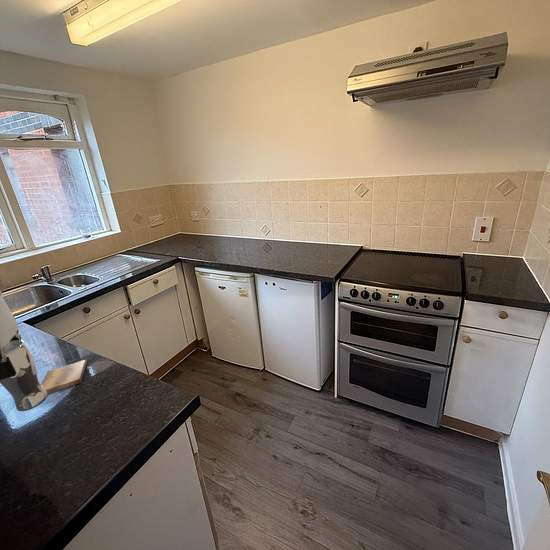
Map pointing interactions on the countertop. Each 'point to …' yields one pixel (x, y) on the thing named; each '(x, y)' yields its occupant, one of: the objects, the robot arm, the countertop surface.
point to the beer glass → (23, 377)
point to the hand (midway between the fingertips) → (14, 366)
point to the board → (64, 377)
